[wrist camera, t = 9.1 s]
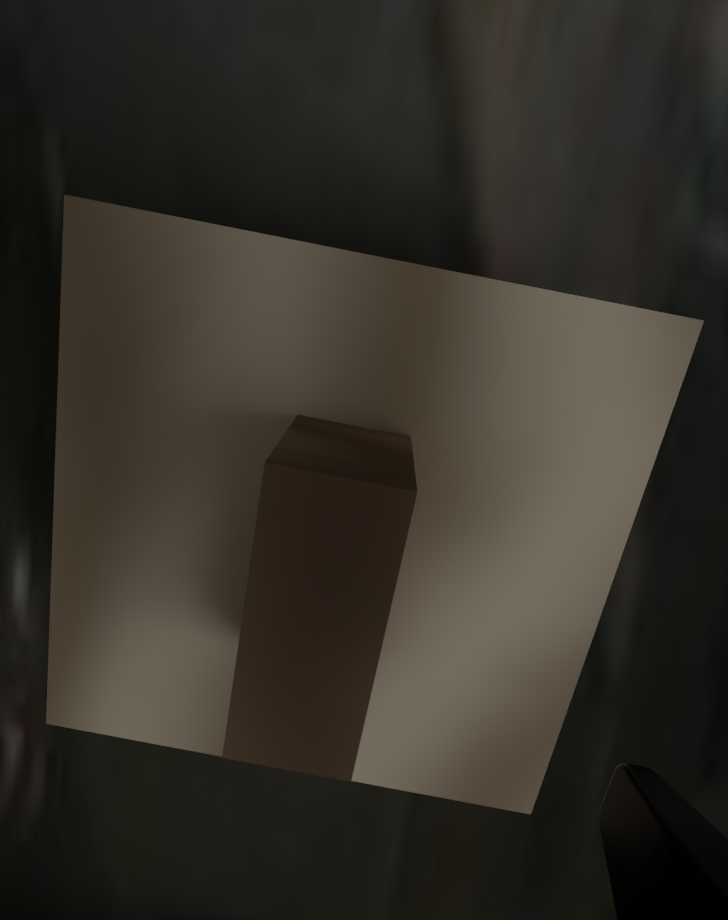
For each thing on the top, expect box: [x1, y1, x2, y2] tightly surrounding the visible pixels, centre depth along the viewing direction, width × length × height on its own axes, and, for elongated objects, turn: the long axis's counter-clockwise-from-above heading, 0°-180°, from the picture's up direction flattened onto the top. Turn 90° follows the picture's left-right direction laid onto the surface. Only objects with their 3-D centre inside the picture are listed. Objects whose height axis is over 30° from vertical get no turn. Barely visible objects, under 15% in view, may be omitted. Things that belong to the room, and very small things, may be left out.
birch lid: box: [46, 195, 704, 814], centre depth 13 cm, size 13×13×4 cm
